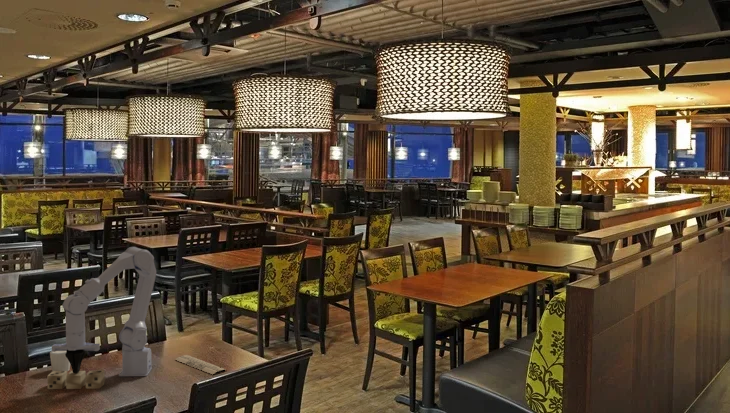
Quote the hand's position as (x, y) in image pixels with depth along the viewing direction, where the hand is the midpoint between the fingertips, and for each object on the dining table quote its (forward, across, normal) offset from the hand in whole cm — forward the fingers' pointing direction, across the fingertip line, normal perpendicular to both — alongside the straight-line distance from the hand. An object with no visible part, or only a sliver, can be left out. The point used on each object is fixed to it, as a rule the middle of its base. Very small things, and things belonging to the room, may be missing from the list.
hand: (76, 372), depth 204 cm
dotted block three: (+5, -6, 0) cm, 8 cm away
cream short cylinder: (+5, -11, +16) cm, 20 cm away
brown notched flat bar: (+6, +36, +18) cm, 41 cm away
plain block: (+5, 0, 0) cm, 5 cm away
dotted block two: (+5, +6, 0) cm, 8 cm away
